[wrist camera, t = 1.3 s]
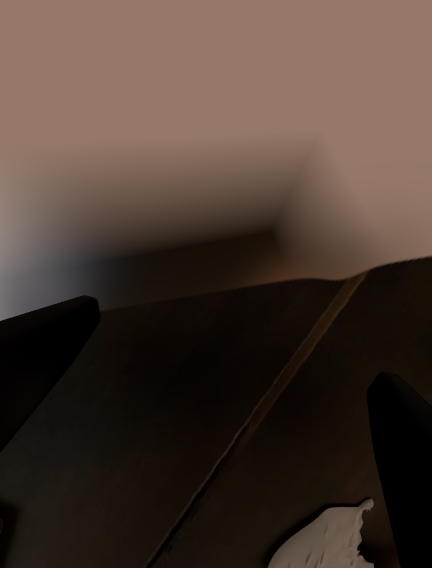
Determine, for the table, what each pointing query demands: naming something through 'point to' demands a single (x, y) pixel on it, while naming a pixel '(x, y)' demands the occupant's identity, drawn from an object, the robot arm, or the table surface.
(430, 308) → the table surface
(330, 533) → the white dragon
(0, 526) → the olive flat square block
